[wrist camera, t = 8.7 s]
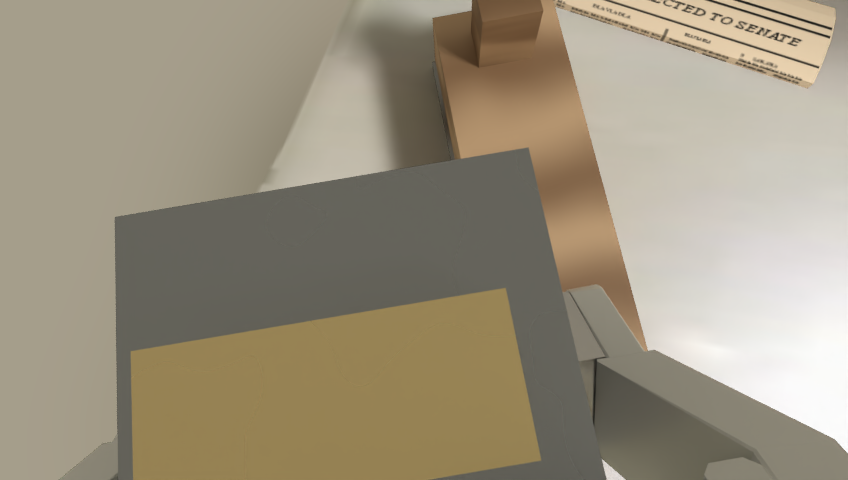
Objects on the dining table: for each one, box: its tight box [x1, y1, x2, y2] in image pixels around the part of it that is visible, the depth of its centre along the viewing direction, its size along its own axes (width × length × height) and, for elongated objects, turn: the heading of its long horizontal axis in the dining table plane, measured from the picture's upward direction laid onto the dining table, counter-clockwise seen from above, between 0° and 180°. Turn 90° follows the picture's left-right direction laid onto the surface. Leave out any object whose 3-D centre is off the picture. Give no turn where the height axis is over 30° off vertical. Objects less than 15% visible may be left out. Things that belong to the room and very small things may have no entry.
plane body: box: [432, 0, 648, 351], centre depth 28 cm, size 22×7×9 cm, turn 10°
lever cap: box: [115, 147, 606, 480], centre depth 8 cm, size 4×4×10 cm
